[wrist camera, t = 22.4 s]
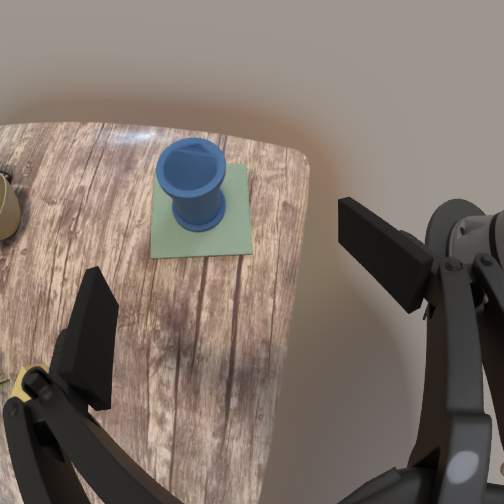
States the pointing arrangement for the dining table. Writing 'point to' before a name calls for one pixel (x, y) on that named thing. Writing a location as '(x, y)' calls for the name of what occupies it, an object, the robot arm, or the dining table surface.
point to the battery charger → (6, 176)
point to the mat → (214, 240)
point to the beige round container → (8, 209)
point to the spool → (193, 182)
